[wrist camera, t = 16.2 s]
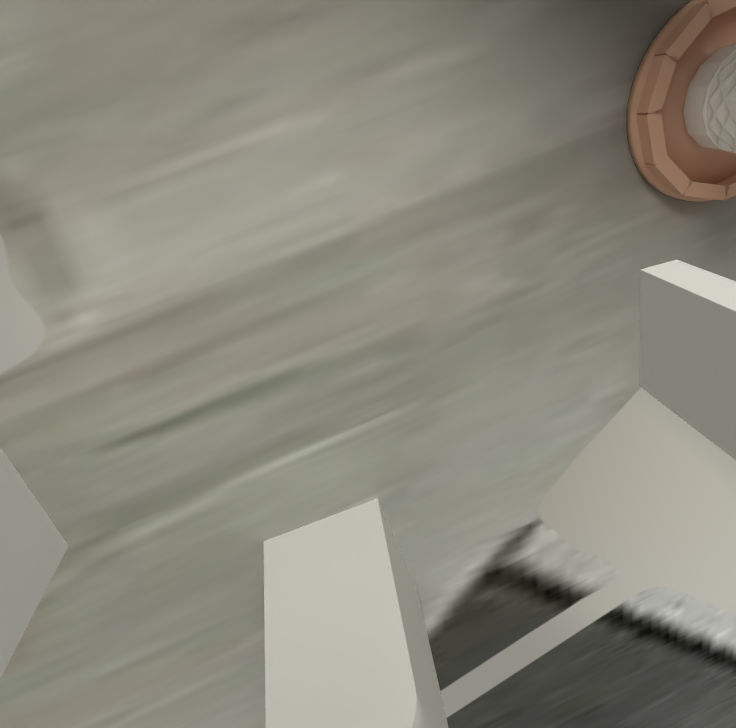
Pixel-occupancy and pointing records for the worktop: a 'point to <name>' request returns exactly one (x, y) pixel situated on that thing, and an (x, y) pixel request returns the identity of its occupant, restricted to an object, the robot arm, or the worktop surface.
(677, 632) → the worktop surface
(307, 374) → the worktop surface
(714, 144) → the white cup
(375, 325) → the worktop surface
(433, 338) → the worktop surface
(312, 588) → the milk
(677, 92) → the saucer
